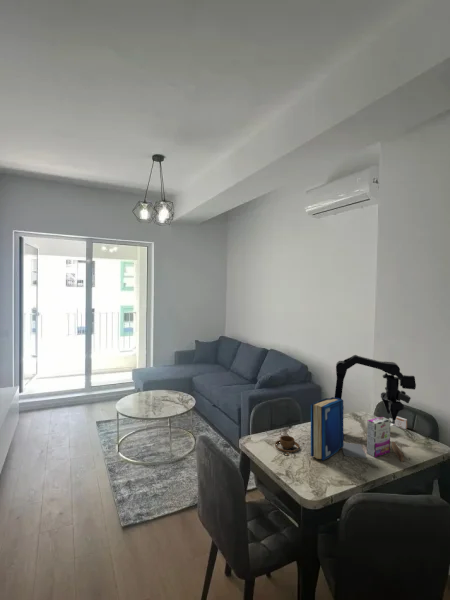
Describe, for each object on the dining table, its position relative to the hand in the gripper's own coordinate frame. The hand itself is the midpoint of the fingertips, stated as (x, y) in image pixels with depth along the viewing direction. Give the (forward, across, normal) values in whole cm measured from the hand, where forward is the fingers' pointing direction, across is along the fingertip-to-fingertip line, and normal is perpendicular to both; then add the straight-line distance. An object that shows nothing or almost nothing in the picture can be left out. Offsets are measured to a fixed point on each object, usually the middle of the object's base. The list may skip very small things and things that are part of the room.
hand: (391, 416), depth 172 cm
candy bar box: (+14, -15, +10) cm, 22 cm away
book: (+13, -20, +33) cm, 41 cm away
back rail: (+13, -14, +1) cm, 19 cm away
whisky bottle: (+14, +15, 0) cm, 20 cm away
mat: (+13, -15, +21) cm, 29 cm away
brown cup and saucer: (+14, -20, +49) cm, 55 cm away
